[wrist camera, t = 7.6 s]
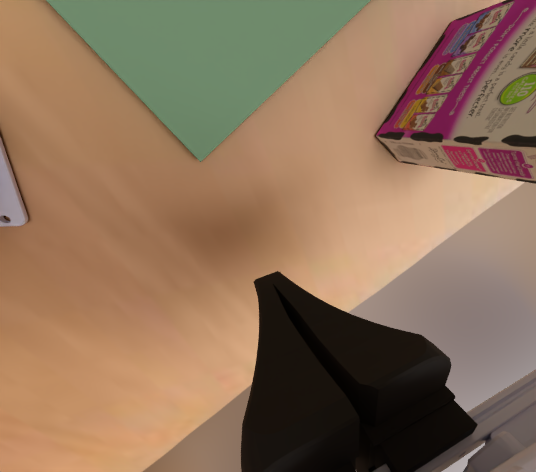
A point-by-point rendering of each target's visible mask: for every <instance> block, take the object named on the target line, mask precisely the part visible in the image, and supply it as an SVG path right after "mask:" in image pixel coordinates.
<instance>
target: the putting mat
mask: <svg viewBox="0 0 536 472" xmlns="http://www.w3.org/2000/svg"><path fill="white" fill-rule="evenodd" d="M46 1H47V2H48V3H49V4H50V5H51V6H52V7H53V8H54V9H55V10H56V11H57V12H58V13H59V14H60V15H61V16H62V17H63V18H64V20H65V21H66V22H67V23H68V24H69V25H70V26H71V27H72V28H73V29H74V30H75V31H76V32H77V33H78V34H79V35H80V36H81V37H82V38H83V39H84V40H85V42H86V43H87V44H88V45H89V46H90V47H91V48H92V49H93V50H94V51H95V52H96V53H97V54H98V55H99V56H100V57H101V58H102V59H103V60H104V61H105V63H106V64H107V65H108V66H109V67H110V68H111V69H112V70H113V71H114V72H115V73H116V74H117V75H118V76H119V77H120V78H121V79H122V80H123V81H124V82H125V83H126V85H127V86H128V87H129V88H130V89H131V90H132V91H133V92H134V93H135V94H136V95H137V96H138V97H139V98H140V99H141V100H142V101H143V102H144V103H145V104H146V105H147V107H148V108H149V109H150V110H151V111H152V112H153V113H154V114H155V115H156V116H157V117H158V118H159V119H160V120H161V121H162V122H163V123H164V124H165V125H166V126H167V127H168V129H169V130H170V131H171V132H172V133H173V134H174V135H175V136H176V137H177V138H178V139H179V140H180V141H181V142H182V143H183V144H184V145H185V146H186V147H187V148H188V149H189V151H190V152H191V153H192V154H193V155H194V156H195V157H196V158H197V159H198V160H199V161H200V162H201V161H202V160H203V159H204V158H205V157H206V156H207V155H208V154H210V153H211V152H212V151H213V150H214V149H215V148H216V147H217V146H218V145H219V144H220V143H221V142H222V141H223V140H224V139H225V138H226V137H227V136H228V135H230V134H231V133H232V132H233V131H234V130H235V129H236V128H237V127H238V126H239V125H240V124H241V123H242V122H243V121H244V120H245V119H246V118H247V117H248V116H250V115H251V114H252V113H253V112H254V111H255V110H256V109H257V108H258V107H259V106H260V105H261V104H262V103H263V102H264V101H265V100H266V99H267V98H268V97H270V96H271V95H272V94H273V93H274V92H275V91H276V90H277V89H278V88H279V87H280V86H281V85H282V84H283V83H284V82H285V81H286V80H287V79H288V78H289V77H291V76H292V75H293V74H294V73H295V72H296V71H297V70H298V69H299V68H300V67H301V66H302V65H303V64H304V63H305V62H306V61H307V60H308V59H309V58H311V57H312V56H313V55H314V54H315V53H316V52H317V51H318V50H319V49H320V48H321V47H322V46H323V45H324V44H325V43H326V42H327V41H328V40H329V39H331V38H332V37H333V36H334V35H335V34H336V33H337V32H338V31H339V30H340V29H341V28H342V27H343V26H344V25H345V24H346V23H347V22H348V21H349V20H351V19H352V18H353V17H354V16H355V15H356V14H357V13H358V12H359V11H360V10H361V9H362V8H363V7H364V6H365V5H366V4H367V3H368V2H369V1H371V0H46Z"/></svg>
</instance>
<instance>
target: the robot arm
mask: <svg viewBox="0 0 536 472" xmlns="http://www.w3.org/2000/svg"><path fill="white" fill-rule="evenodd" d="M4 216H7V217H9V218H10V219H11V221H7V220H5V219H4ZM27 221H28V216H27V213H26V210H25V207H24V204H23V201H22V198H21V195H20V192H19V189H18V187H17V184H16V181H15V178H14V175H13V172H12V169H11V166H10V163H9V160H8V157H7V154H6V151H5V148H4V146H3V143H2V140H1V137H0V226H22V225H23V224H25V223H27ZM254 285H255V288H256V292H257V295H258V302H259V340H258V350H257V359H256V366H255V371H254V377H253V382H252V387H251V392H250V396H249V400H248V404H247V408H246V412H245V416H244V420H243V424H242V441H241V469H242V472H356V471H357V472H441V471H443V470H444V469H446V468H447V467H449V466H450V465H452V464H453V463H455V462H456V461H458V460H459V459H461V458H462V457H464V456H465V455H466V454H468V453H470V452H471V451H473V450H474V449H476V448H477V447H479V446H480V445H481V444H483V443H484V442H485V446H483V448H481V449H480V450H479V451H478V452H477V453H475V454H474V455H473V456H472V457H471V458H470V459H468V465H467V466H466V468H465V470H464V471H463V472H536V370H534V371H533V372H531V373H529V374H528V375H526V376H525V377H523V378H522V379H520V380H518V381H517V382H515V383H514V384H512V385H510V386H509V387H507V388H506V389H504V390H502V391H501V392H499V393H497V394H496V395H494V396H493V397H491V398H489V399H488V400H486V401H485V402H483V403H481V404H480V405H478V406H477V407H475V408H473V409H472V410H470V411H469V412H467V413H466V412H465V411H464V410H463V409H462V408H461V407H460V406H459V405H458V404H457V403H456V402H455V401H454V399H455V395H454V394H453V393H452V392H451V391H450V390H449V389H448V388H447V387H446V386H445V383H446V381H447V378H448V375H449V372H450V369H451V362H450V358H449V357H447V356H446V355H445V354H444V353H443V352H442V351H441V350H439V349H438V348H437V347H436V346H435V345H434V344H433V343H431V342H430V341H429V340H427V339H426V338H424V337H423V336H422V335H419V334H415V333H411V332H406V331H402V330H398V329H394V328H390V327H387V326H383V325H380V324H377V323H374V322H371V321H368V320H365V319H362V318H359V317H357V316H354V315H351V314H349V313H347V312H344V311H342V310H340V309H338V308H336V307H334V306H332V305H330V304H328V303H326V302H324V301H322V300H320V299H318V298H317V297H315V296H313V295H312V294H310V293H308V292H307V291H305V290H304V289H302V288H301V287H299V286H298V285H296V284H295V283H293V282H292V281H291V280H289V279H288V278H287V277H285V276H284V275H283V274H281V273H280V272H278V271H277V272H274V273H272V274H269V275H266V276H264V277H261V278H258V279H256V280H255V281H254Z"/></svg>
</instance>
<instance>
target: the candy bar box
mask: <svg viewBox="0 0 536 472" xmlns="http://www.w3.org/2000/svg"><path fill="white" fill-rule="evenodd" d="M376 137H377V138H378V140H379V141H380V142H381V143H382V144H383V145H384V146H385V147H386V148H387V149H388V150H389V151H390V152H391V154H392V155H393V156H394V157H395V158H396V159H397V160H398V161H399V162H403V163H409V164H415V165H422V166H428V167H435V168H440V169H447V170H453V171H461V172H466V173H472V174H479V175H485V176H492V177H500V178H504V179H510V180H517V181H523V182H530V183H536V0H506V1H503V2H501V3H498V4H495V5H493V6H490V7H488V8H485V9H483V10H480V11H477V12H475V13H472V14H470V15H467V16H464V17H462V18H459V19H456V20H454V21H452V22H451V24H450V25H449V26H448V28H447V29H446V31H445V32H444V34H443V35H442V37H441V38H440V40H439V41H438V43H437V44H436V46H435V47H434V49H433V50H432V52H431V53H430V55H429V56H428V58H427V60H426V61H425V62H424V64H423V65H422V67H421V69H420V70H419V72H418V73H417V75H416V76H415V78H414V79H413V81H412V82H411V84H410V85H409V87H408V88H407V90H406V91H405V93H404V94H403V96H402V97H401V99H400V100H399V102H398V103H397V105H396V106H395V108H394V109H393V111H392V112H391V114H390V115H389V117H388V118H387V120H386V121H385V123H384V124H383V126H382V127H381V129H380V130H379V132H378V133H377V135H376Z"/></svg>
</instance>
